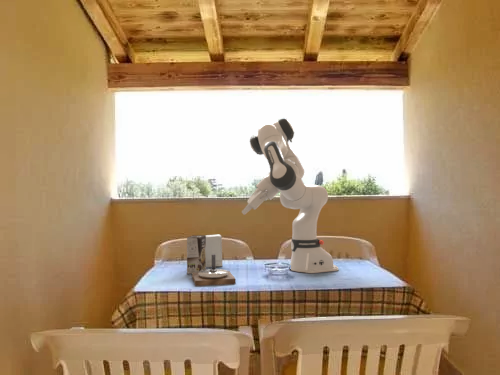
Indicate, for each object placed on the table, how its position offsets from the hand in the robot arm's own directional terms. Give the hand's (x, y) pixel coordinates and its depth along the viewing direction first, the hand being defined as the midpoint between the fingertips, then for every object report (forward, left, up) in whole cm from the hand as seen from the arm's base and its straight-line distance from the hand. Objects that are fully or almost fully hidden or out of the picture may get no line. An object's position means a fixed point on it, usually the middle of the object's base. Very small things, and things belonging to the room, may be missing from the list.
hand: (242, 213), depth 189 cm
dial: (+13, +1, -25) cm, 28 cm away
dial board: (+13, +1, -27) cm, 30 cm away
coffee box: (+18, -18, -28) cm, 37 cm away
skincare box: (+9, -30, -28) cm, 41 cm away
